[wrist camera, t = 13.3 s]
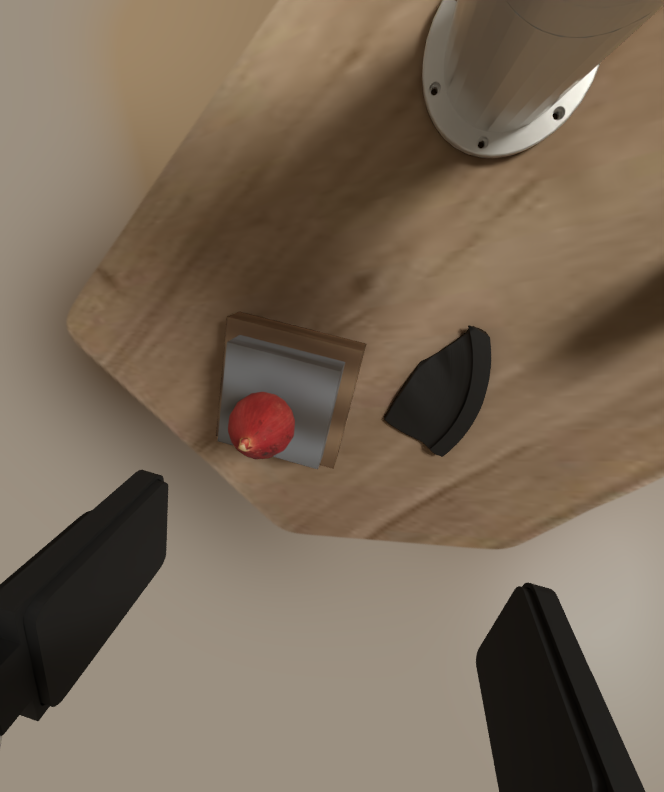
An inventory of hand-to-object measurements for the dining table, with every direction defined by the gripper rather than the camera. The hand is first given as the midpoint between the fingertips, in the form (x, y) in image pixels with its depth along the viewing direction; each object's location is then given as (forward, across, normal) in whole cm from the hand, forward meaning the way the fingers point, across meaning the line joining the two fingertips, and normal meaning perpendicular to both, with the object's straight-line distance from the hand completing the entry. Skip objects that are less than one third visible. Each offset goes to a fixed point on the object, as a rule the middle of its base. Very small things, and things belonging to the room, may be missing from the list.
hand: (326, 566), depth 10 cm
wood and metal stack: (+30, +8, +9) cm, 33 cm away
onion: (+24, +8, +9) cm, 27 cm away
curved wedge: (+31, -8, +6) cm, 33 cm away
